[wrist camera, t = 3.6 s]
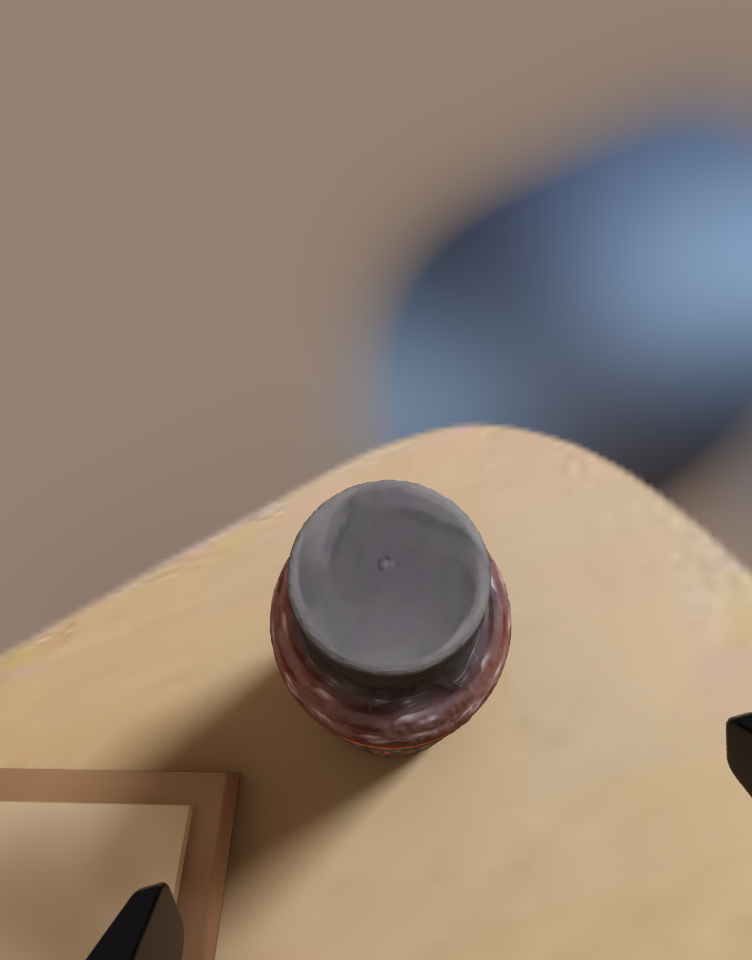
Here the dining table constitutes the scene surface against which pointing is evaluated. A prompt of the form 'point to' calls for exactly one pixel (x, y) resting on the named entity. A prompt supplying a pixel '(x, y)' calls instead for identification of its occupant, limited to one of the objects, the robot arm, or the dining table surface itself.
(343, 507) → the supplement bottle
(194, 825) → the wooden square coaster
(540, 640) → the dining table surface
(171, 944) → the robot arm
